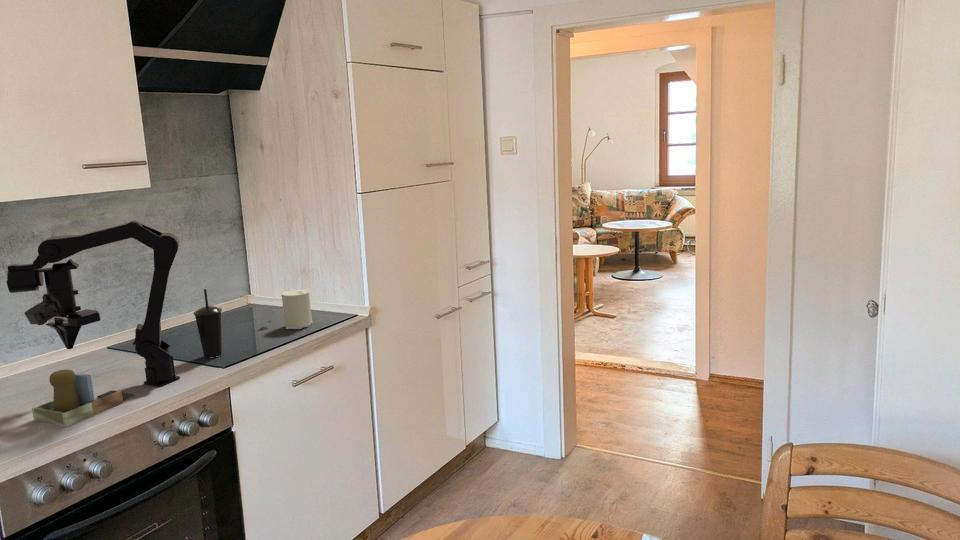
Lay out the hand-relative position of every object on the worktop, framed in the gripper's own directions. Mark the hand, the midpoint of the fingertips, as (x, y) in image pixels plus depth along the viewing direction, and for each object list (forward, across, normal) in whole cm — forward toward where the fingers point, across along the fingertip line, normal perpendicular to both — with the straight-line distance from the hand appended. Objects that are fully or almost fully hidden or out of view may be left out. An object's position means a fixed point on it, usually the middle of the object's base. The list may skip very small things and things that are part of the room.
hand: (69, 348), depth 175 cm
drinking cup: (+12, +11, +35) cm, 39 cm away
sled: (+12, +12, -10) cm, 19 cm away
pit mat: (+12, +12, +2) cm, 17 cm away
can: (+12, +15, +69) cm, 72 cm away
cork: (+12, +12, -11) cm, 20 cm away
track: (+12, +12, -8) cm, 18 cm away
